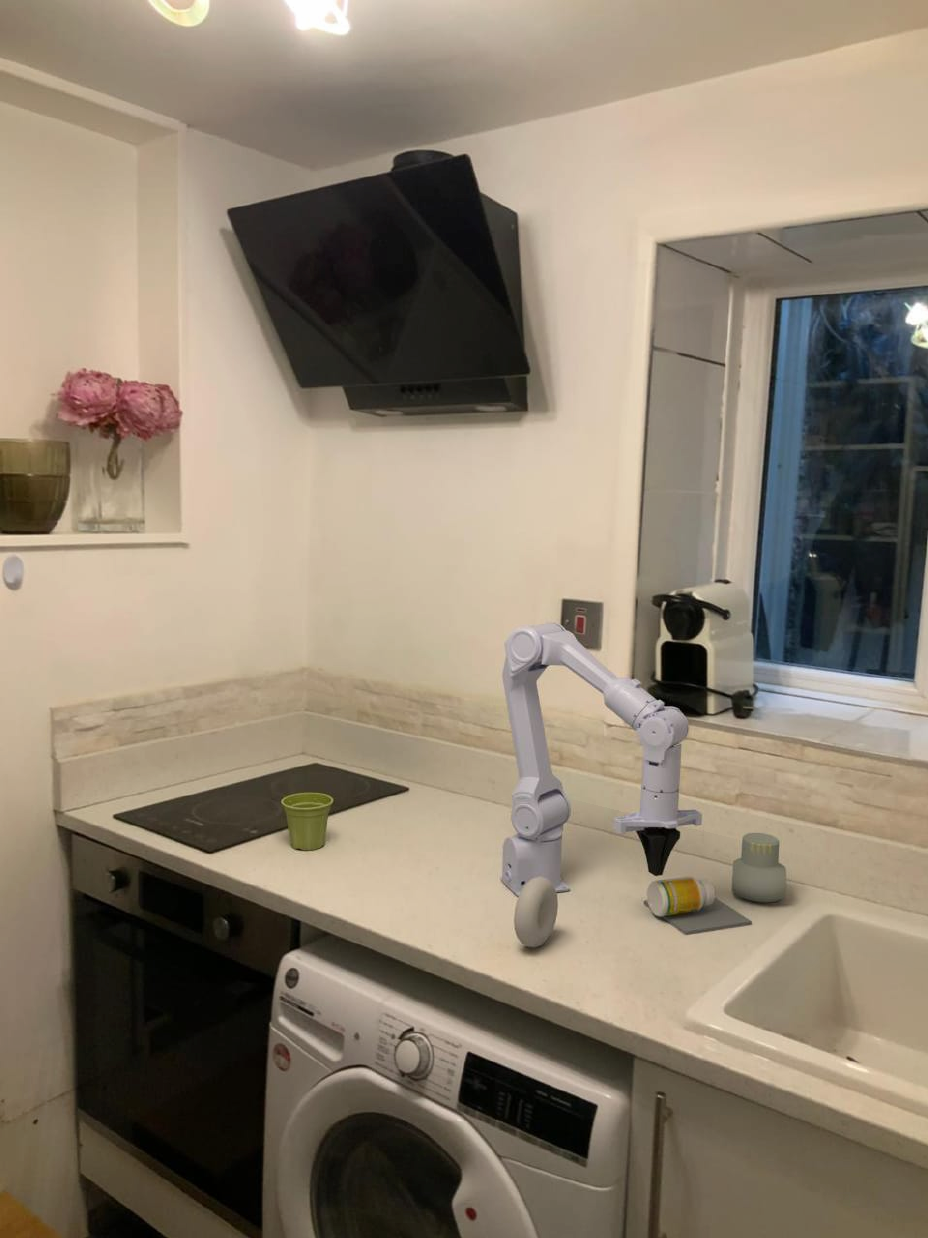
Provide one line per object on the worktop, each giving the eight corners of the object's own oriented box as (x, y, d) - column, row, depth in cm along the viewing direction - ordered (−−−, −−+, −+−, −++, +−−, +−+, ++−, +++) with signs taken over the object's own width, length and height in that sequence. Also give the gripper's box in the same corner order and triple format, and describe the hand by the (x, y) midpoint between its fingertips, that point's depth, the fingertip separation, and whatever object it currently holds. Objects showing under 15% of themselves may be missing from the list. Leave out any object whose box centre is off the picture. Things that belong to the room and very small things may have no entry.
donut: (539, 929, 146) (542, 865, 145) (560, 935, 144) (563, 870, 143) (508, 955, 138) (510, 887, 137) (530, 961, 136) (532, 892, 135)
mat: (685, 935, 146) (685, 931, 146) (643, 903, 157) (643, 900, 157) (751, 924, 150) (752, 921, 150) (706, 894, 161) (706, 891, 161)
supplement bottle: (645, 878, 153) (696, 871, 157) (646, 912, 153) (698, 905, 156) (663, 885, 148) (716, 878, 152) (664, 921, 148) (718, 913, 151)
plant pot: (288, 857, 173) (288, 810, 172) (276, 840, 182) (276, 795, 181) (339, 851, 177) (339, 804, 176) (324, 834, 185) (325, 790, 184)
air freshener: (785, 912, 155) (789, 852, 154) (731, 905, 157) (735, 846, 156) (782, 887, 165) (785, 830, 164) (731, 881, 167) (735, 825, 166)
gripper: (632, 799, 142) (628, 888, 143) (715, 791, 147) (710, 877, 149) (608, 785, 148) (604, 871, 150) (688, 778, 154) (684, 861, 155)
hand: (655, 873), depth 150 cm, fingers closed
